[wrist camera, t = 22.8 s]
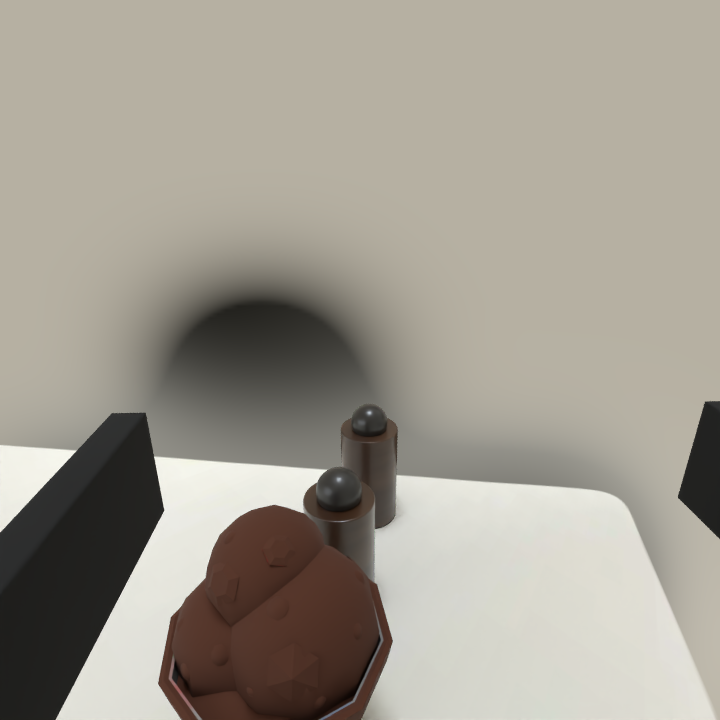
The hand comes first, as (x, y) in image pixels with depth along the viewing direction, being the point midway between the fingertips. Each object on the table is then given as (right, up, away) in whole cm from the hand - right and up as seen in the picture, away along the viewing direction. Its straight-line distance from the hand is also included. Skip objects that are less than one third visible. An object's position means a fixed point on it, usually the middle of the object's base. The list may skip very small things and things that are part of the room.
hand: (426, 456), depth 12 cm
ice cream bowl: (-5, -20, +16) cm, 26 cm away
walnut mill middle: (-3, -16, +26) cm, 30 cm away
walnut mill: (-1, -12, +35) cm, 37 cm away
